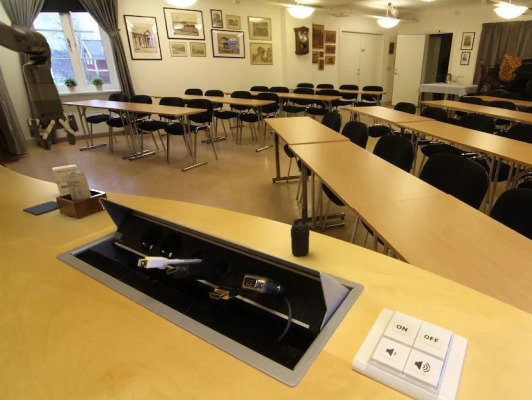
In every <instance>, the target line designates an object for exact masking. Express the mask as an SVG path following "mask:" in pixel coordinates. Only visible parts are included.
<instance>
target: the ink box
mask: <svg viewBox="0 0 532 400" xmlns="http://www.w3.org/2000/svg"><path fill="white" fill-rule="evenodd" d="M51 171H52V174H53V177H54V179H55V183H56V187H57V189H58V192H59V195H60V196H63V195H66V194H69V193H70V191H69V188H68V184H67V181H66V176H67V174H66V173H68V172H71V171H80V169H79V167H78V165H77V164H69V165H62V166H55V167H51Z"/></svg>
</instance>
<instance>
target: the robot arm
mask: <svg viewBox="0 0 532 400" xmlns="http://www.w3.org/2000/svg"><path fill="white" fill-rule="evenodd" d="M0 46H1V47H3V48H5V49H6V50H9V51H12V52H14V53H17V54H21V55H27V58H28V62H27V63H24V64H23V65H22V72H23V75H24V78H25V82H26V85H27V91H28V94H29V98H30V101H31V104H32V107H33V110H34V113H35V115H36V118H27V119H26V124H27V128H28V131H29V135H30V137H31V138H32V139H38V140H39V143H40V146H41V148H42V149H43V150H44V151H51V150H52V148H51V144H50V141H49V139H48V136H49V134H51V132H52V131H57V130H62V131H63V132H64V133H66V134H65V136H66V138H67V139H66V140H67V142H68V144H69V146H75V145H76V143H77V140H76V136H75V133H77V132H79V131H80V129H79V125H78V123H77V119H76V117H75V115H74V114H73V113H72V114H71V113H67V114H65V113H64V112H65V110H64V106H63V102H62V99H61V96H60V92H59V89H58V87H57V84H56V81H55V79H54V74H53V71H52V48H51V45H50V43H49V41H48V39H47V38H46V37H45V35H44V34H43V33H41V32H39V31H36V30H32V29H25V28H20V27H16V26H11V25H8V24H7V23H6V22H3V21H1V20H0ZM66 121H67V123H66ZM39 125H40V126H39Z"/></svg>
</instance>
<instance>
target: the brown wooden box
mask: <svg viewBox="0 0 532 400" xmlns="http://www.w3.org/2000/svg"><path fill="white" fill-rule="evenodd" d="M89 189H90V193H91V197H89V198H86V199H82V200H79V201H76V202H73V201H72V197H71V194H70V193H69V194H66V195H62V196H61V195H60V196H59V195H58V196H55V202H57V204H58V207H59V209H58V210H59V213H60V214H62V215H64V216H67V217H70V218H73V217H75V218H74V219H76V218H78V219H77V220H80V219H83V218H86V217H88V215H89V216H91V215H94V214H97V213H100V212H102V211H101V210H103V207H102V205H101V203H100V202H99V198H101V197H102V198H106V199H108V196H107V193H106V192H105V191H100V190H96V189H93V188H89ZM99 211H100V212H99ZM103 211H104V210H103ZM96 212H97V213H96ZM93 213H94V214H93ZM90 214H91V215H90ZM85 216H86V217H85ZM82 217H83V218H82ZM79 218H80V219H79Z"/></svg>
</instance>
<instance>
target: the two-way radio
mask: <svg viewBox="0 0 532 400" xmlns="http://www.w3.org/2000/svg"><path fill="white" fill-rule="evenodd" d="M290 245H291V255H293V256H294V257H295V256H296V257H303V256H307V255H308V254H309V253H310V227H309V224H308V223H307V222H306V208H305V206H303V207H302V208H301V222H299V220H298V219H297V218H295V219H293V223H292V224H291V228H290Z"/></svg>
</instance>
